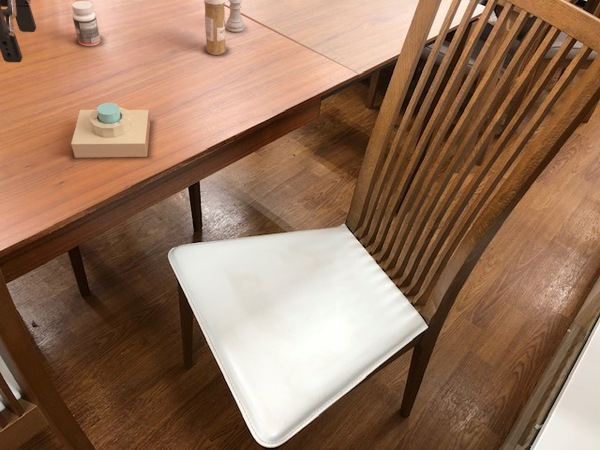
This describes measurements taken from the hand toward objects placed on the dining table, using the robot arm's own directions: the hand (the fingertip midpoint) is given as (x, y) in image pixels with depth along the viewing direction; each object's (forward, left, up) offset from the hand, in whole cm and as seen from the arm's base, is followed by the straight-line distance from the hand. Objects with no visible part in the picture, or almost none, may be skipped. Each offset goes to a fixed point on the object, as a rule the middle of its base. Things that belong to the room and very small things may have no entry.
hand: (21, 45), depth 71 cm
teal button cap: (+8, +6, -16) cm, 19 cm away
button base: (+8, +6, -21) cm, 23 cm away
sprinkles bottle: (+27, +39, -21) cm, 52 cm away
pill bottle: (-1, +42, -21) cm, 47 cm away
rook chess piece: (+32, +50, -21) cm, 63 cm away
